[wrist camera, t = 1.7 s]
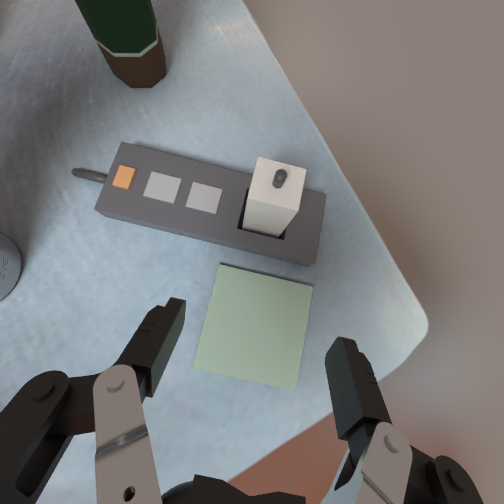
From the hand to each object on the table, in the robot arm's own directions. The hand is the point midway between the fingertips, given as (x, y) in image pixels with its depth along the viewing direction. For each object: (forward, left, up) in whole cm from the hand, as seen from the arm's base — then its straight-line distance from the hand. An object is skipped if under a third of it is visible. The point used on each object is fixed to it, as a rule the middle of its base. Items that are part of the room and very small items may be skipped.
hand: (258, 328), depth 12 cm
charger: (0, +12, -16) cm, 20 cm away
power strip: (-9, +12, -16) cm, 22 cm away
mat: (+2, -1, -16) cm, 16 cm away
